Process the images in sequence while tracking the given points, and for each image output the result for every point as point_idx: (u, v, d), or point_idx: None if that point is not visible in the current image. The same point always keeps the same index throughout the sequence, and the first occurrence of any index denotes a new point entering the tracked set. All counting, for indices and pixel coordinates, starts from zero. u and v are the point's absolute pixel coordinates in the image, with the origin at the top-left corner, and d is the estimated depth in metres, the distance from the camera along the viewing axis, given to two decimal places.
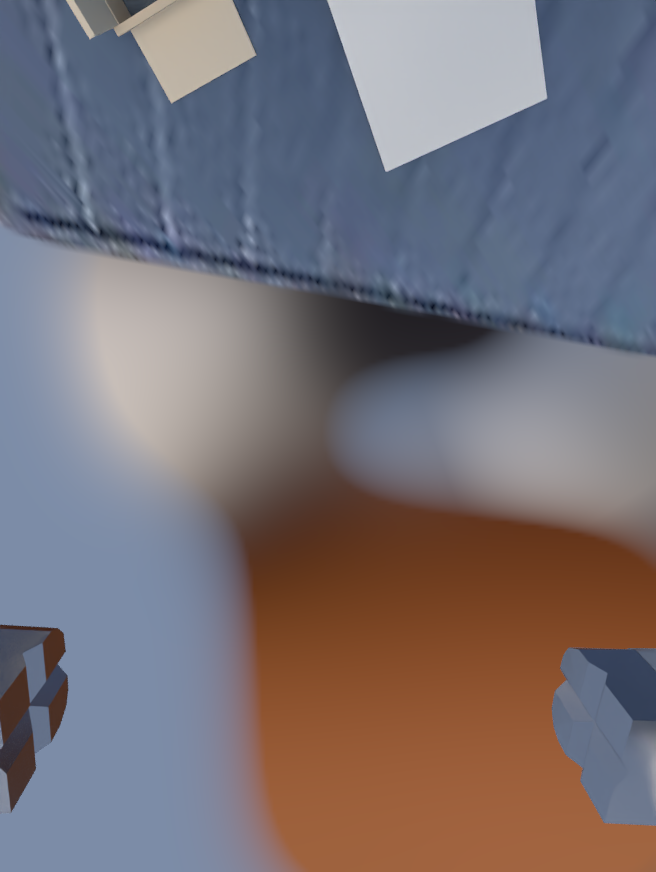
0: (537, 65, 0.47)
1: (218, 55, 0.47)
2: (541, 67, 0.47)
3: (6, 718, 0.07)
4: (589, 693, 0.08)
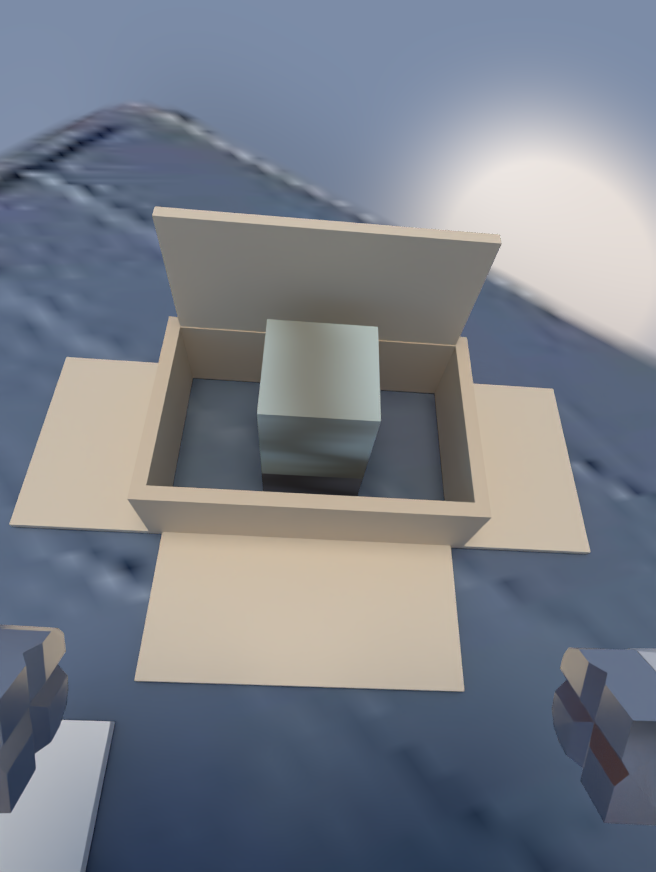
0: None
1: (60, 462, 0.24)
2: None
3: (6, 718, 0.07)
4: (589, 693, 0.08)
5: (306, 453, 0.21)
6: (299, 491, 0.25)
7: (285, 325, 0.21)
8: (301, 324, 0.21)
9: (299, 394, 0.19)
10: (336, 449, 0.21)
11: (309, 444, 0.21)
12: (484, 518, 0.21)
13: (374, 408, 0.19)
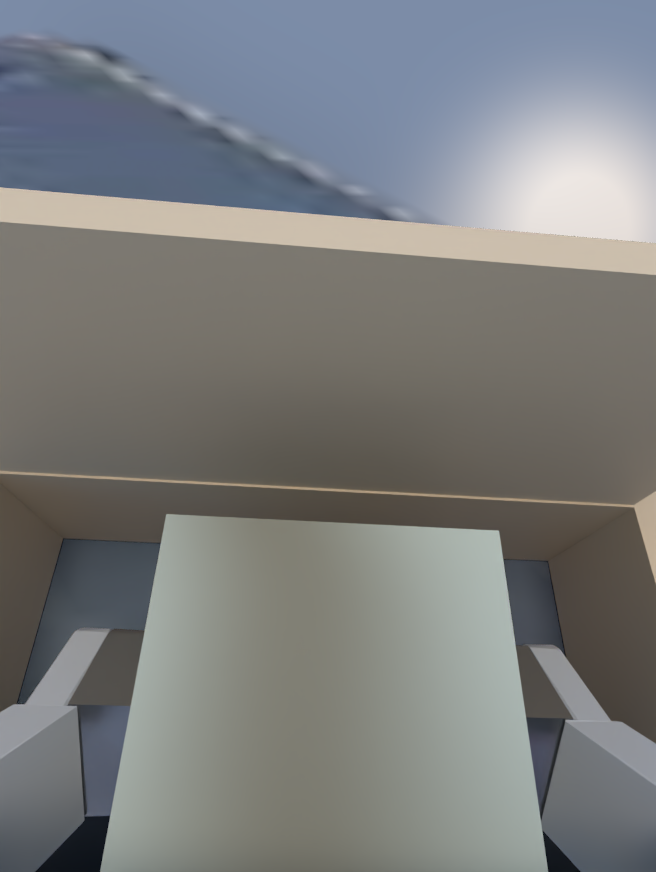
0: None
1: None
2: None
3: None
4: None
5: None
6: None
7: (221, 535, 0.07)
8: (272, 531, 0.07)
9: (255, 854, 0.05)
10: None
11: None
12: None
13: None
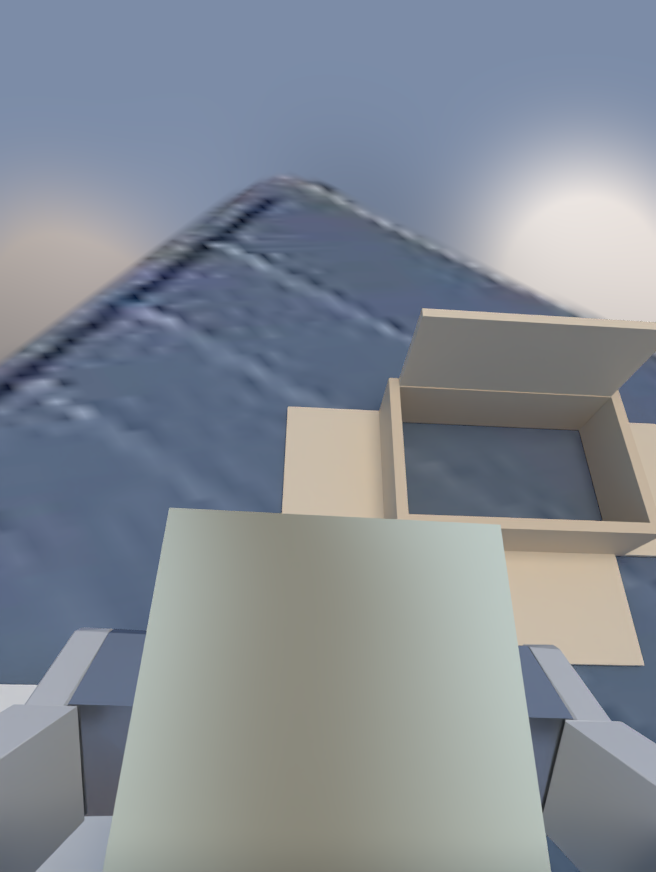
0: None
1: (305, 493, 0.31)
2: None
3: None
4: None
5: None
6: None
7: (224, 529, 0.07)
8: (274, 524, 0.07)
9: (258, 843, 0.05)
10: None
11: None
12: None
13: None
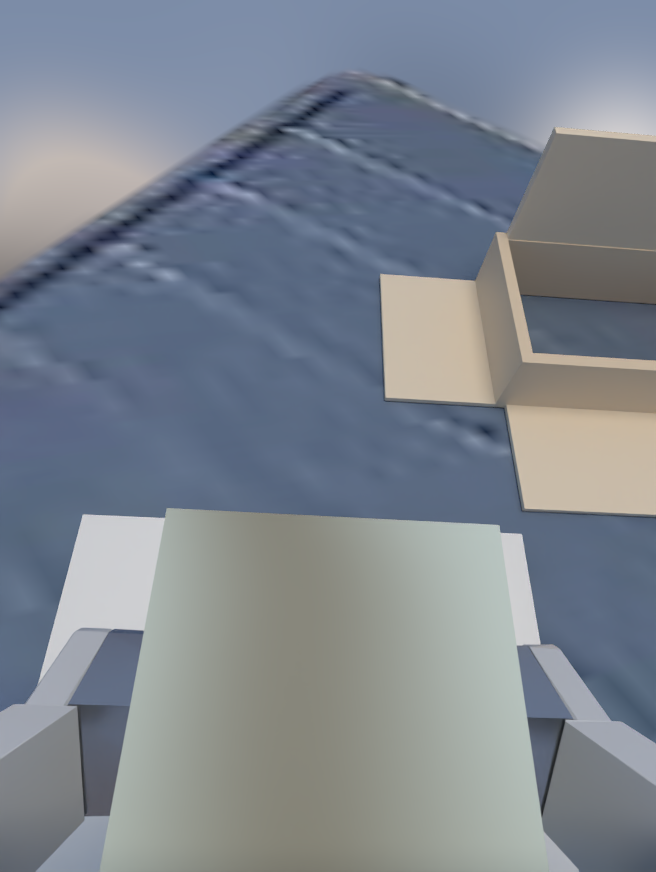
0: None
1: (407, 352, 0.29)
2: None
3: None
4: None
5: None
6: None
7: (222, 529, 0.07)
8: (272, 525, 0.07)
9: (255, 845, 0.05)
10: None
11: None
12: None
13: None
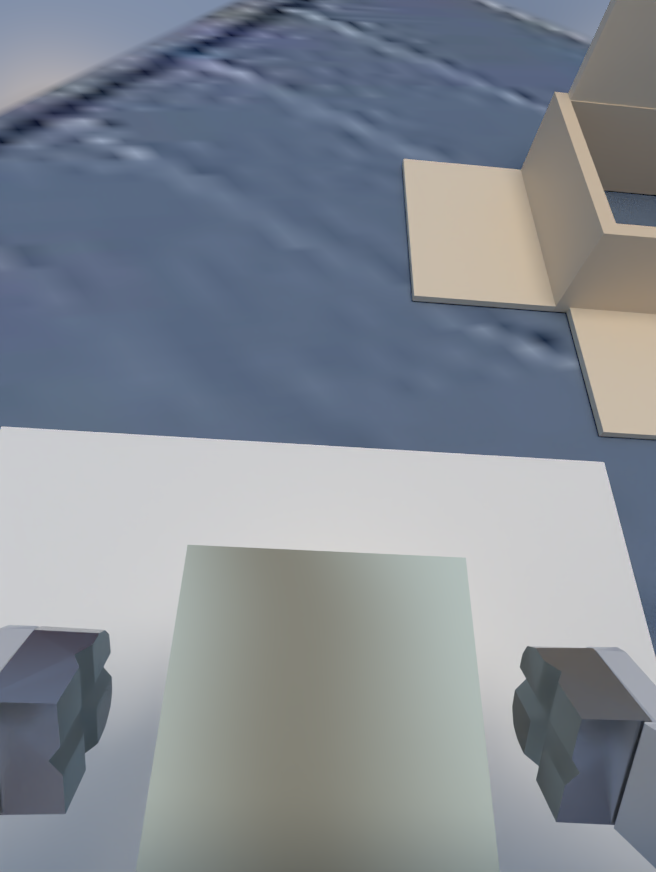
0: None
1: (440, 245, 0.23)
2: None
3: (63, 720, 0.07)
4: (545, 692, 0.08)
5: None
6: None
7: (233, 562, 0.08)
8: (276, 559, 0.08)
9: (263, 820, 0.07)
10: None
11: None
12: None
13: (482, 865, 0.07)
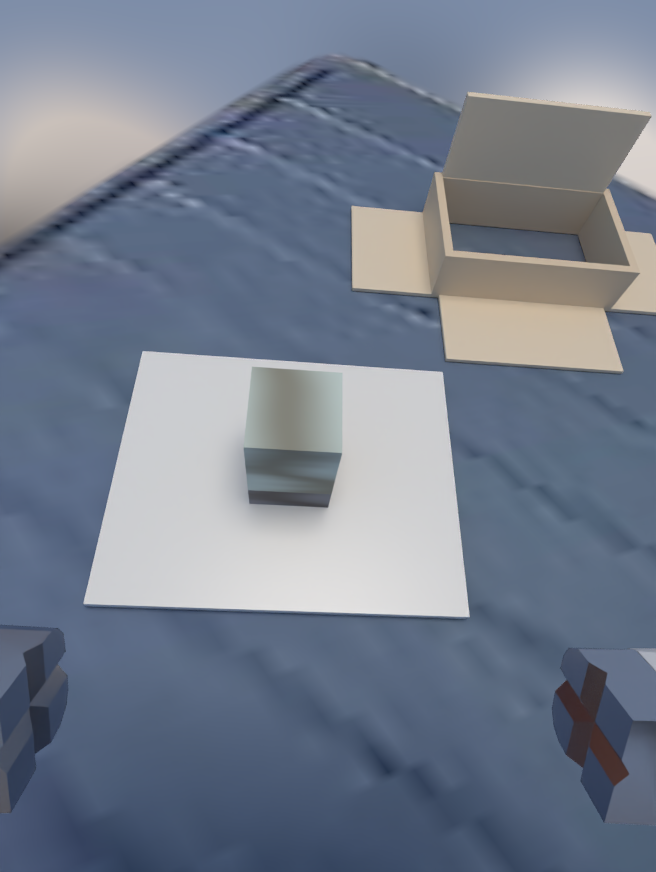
0: (145, 596, 0.27)
1: (369, 259, 0.40)
2: (138, 602, 0.27)
3: (6, 718, 0.07)
4: (589, 693, 0.08)
5: (284, 475, 0.26)
6: (279, 503, 0.30)
7: (267, 372, 0.26)
8: (280, 371, 0.26)
9: (277, 430, 0.24)
10: (308, 472, 0.26)
11: (286, 468, 0.25)
12: (636, 274, 0.37)
13: (337, 442, 0.24)
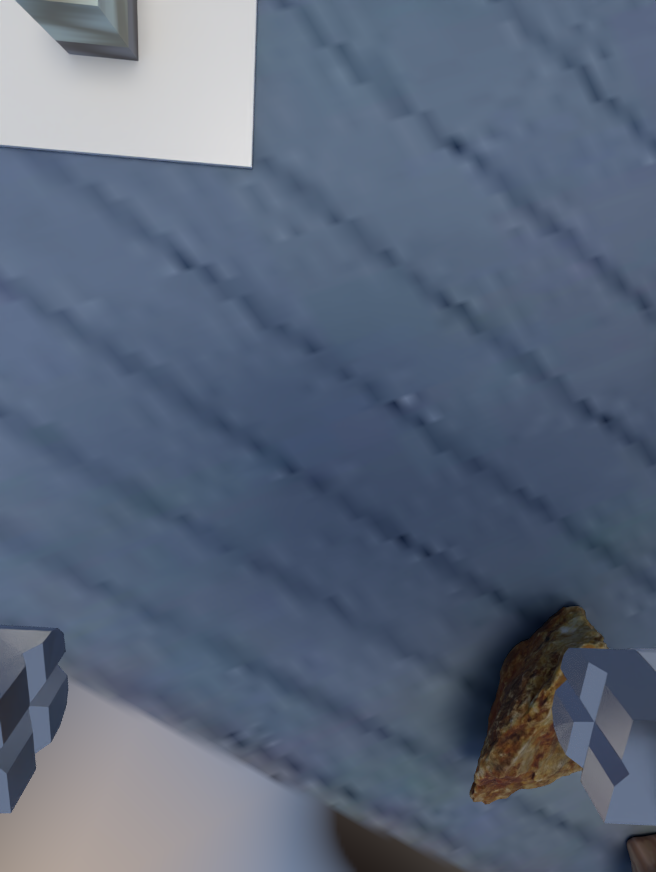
0: (1, 137, 0.36)
1: None
2: None
3: (6, 718, 0.07)
4: (589, 693, 0.08)
5: (71, 26, 0.31)
6: (94, 55, 0.34)
7: None
8: None
9: None
10: (88, 24, 0.30)
11: (66, 19, 0.30)
12: None
13: None
